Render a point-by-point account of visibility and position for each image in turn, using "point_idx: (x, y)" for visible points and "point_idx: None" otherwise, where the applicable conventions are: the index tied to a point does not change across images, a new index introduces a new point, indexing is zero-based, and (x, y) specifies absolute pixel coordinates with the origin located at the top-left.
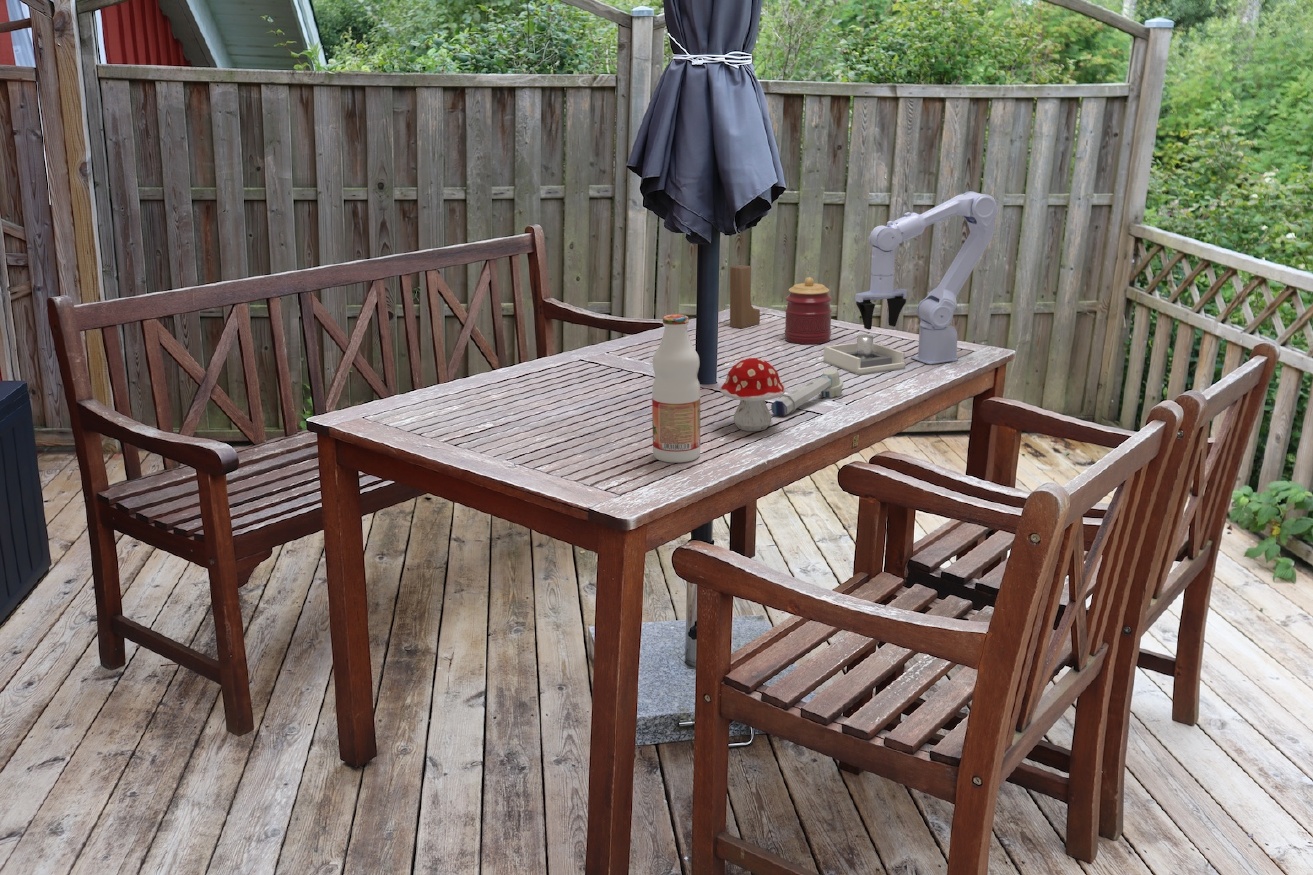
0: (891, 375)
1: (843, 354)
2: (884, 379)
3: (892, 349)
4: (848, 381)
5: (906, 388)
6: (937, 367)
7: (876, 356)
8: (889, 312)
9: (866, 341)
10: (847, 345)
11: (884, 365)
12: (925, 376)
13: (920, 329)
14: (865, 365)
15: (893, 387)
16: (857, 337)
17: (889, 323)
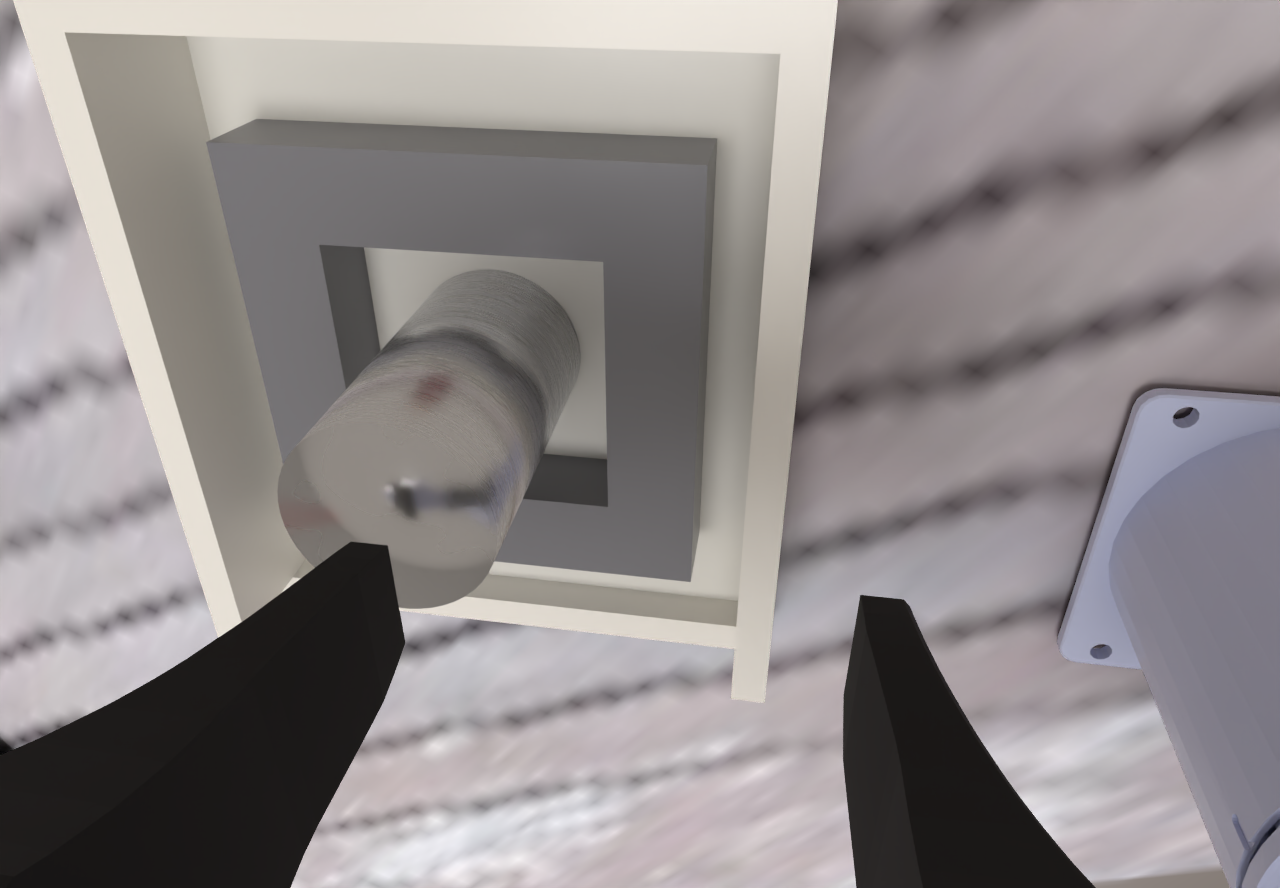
0: (532, 679)
1: (156, 422)
2: (422, 717)
3: (757, 561)
4: (155, 630)
5: (440, 885)
6: (1049, 714)
7: (610, 430)
8: (893, 775)
9: None
10: (396, 38)
11: (536, 618)
12: (740, 807)
13: (1268, 781)
14: None
15: (379, 841)
16: (285, 467)
17: (858, 633)
